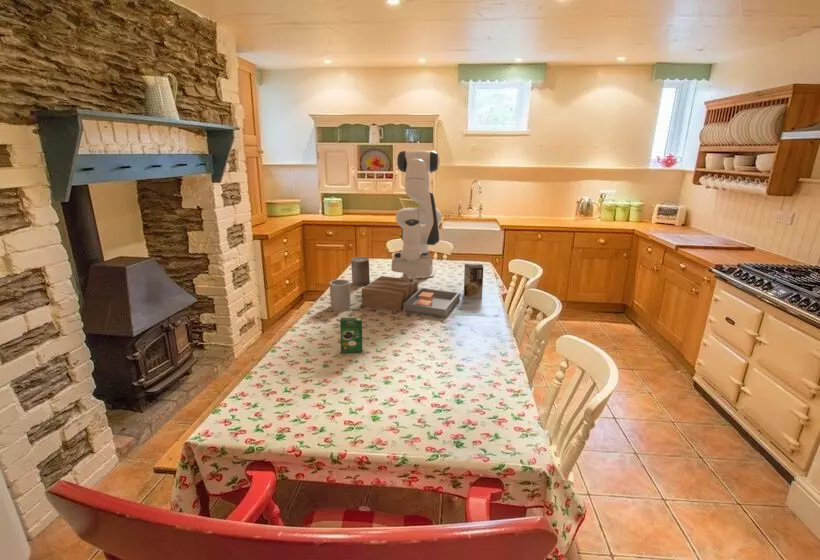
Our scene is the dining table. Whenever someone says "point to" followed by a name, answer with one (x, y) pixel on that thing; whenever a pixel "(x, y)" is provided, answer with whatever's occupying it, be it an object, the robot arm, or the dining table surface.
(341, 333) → the coffee box
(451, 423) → the dining table surface
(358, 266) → the pillar candle
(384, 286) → the brown wooden block
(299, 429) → the dining table surface
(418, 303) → the terracotta tile
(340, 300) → the cup
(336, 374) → the dining table surface
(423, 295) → the terracotta tile
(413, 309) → the box
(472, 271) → the coffee box
